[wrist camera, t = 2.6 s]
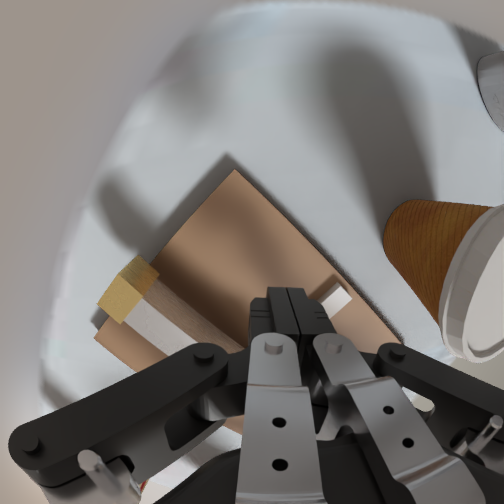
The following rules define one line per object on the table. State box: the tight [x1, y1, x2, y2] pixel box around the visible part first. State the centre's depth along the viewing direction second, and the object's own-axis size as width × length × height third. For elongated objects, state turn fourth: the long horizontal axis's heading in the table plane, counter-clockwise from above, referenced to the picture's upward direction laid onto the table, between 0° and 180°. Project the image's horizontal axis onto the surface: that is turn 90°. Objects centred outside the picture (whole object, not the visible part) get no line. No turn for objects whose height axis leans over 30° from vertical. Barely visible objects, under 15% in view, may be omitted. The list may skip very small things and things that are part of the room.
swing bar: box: [97, 255, 245, 356], centre depth 18 cm, size 15×4×4 cm, turn 46°
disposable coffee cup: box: [383, 200, 504, 363], centre depth 15 cm, size 10×10×12 cm
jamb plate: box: [94, 169, 403, 435], centre depth 21 cm, size 20×24×6 cm
